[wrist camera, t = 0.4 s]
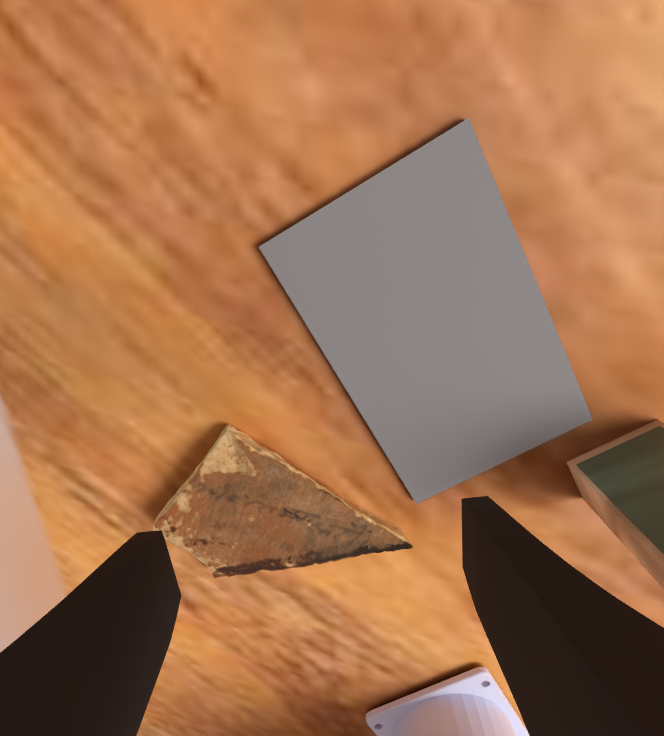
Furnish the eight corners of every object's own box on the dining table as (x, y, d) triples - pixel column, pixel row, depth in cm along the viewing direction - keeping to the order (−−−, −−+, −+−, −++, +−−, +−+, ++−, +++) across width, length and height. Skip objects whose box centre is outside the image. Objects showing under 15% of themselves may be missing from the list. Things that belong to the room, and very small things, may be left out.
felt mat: (589, 416, 21) (592, 419, 20) (414, 500, 22) (416, 504, 22) (466, 119, 16) (468, 117, 16) (259, 246, 18) (258, 247, 17)
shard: (409, 526, 23) (415, 551, 21) (319, 615, 25) (319, 644, 23) (234, 410, 21) (226, 429, 19) (150, 519, 23) (136, 544, 21)
